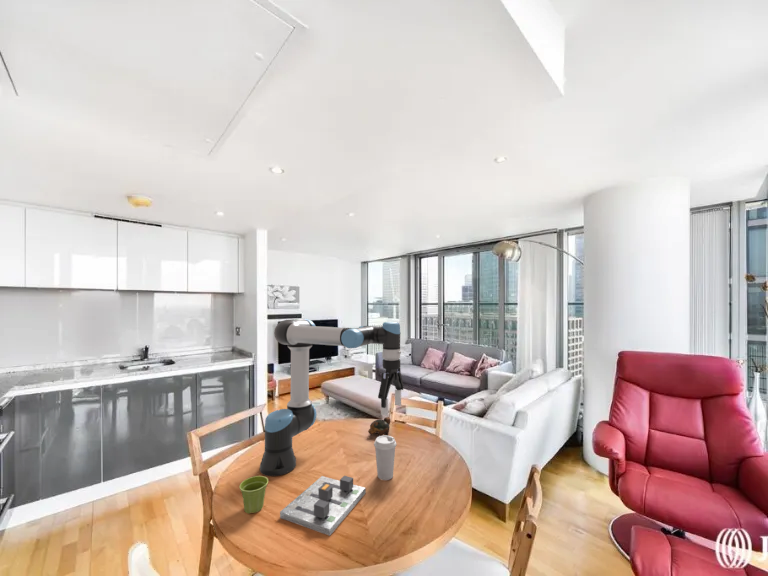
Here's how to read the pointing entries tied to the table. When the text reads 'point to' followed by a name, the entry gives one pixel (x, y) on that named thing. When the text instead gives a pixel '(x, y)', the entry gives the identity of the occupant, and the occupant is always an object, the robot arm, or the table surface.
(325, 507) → the block
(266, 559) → the table surface
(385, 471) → the coffee cup
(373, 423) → the decorative turtle
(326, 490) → the breaker
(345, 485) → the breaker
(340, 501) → the panel
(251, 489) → the plant pot
